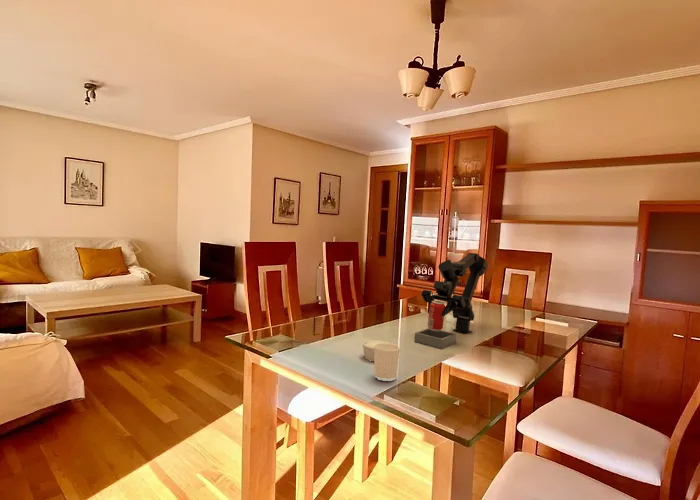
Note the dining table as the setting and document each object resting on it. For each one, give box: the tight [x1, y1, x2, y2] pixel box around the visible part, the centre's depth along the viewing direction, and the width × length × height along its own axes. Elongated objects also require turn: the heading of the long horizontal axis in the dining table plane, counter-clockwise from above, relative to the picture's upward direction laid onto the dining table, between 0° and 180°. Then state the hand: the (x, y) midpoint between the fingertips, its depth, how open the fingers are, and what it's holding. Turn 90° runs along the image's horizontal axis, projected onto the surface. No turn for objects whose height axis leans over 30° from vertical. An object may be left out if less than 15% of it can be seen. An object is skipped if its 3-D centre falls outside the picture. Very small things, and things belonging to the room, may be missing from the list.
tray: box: [414, 327, 457, 350], centre depth 159 cm, size 13×13×4 cm
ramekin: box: [362, 339, 393, 362], centre depth 136 cm, size 11×11×5 cm
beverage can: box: [427, 300, 446, 331], centre depth 159 cm, size 6×6×12 cm
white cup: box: [373, 342, 401, 379], centre depth 117 cm, size 8×8×10 cm
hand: (435, 314), depth 158 cm, fingers closed on beverage can, 6 cm apart
